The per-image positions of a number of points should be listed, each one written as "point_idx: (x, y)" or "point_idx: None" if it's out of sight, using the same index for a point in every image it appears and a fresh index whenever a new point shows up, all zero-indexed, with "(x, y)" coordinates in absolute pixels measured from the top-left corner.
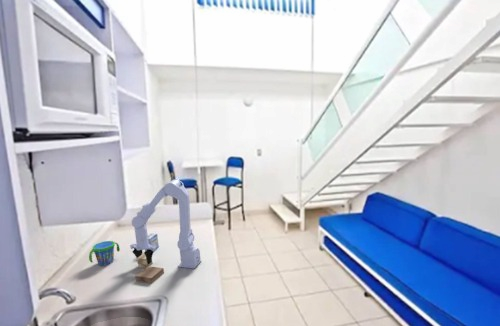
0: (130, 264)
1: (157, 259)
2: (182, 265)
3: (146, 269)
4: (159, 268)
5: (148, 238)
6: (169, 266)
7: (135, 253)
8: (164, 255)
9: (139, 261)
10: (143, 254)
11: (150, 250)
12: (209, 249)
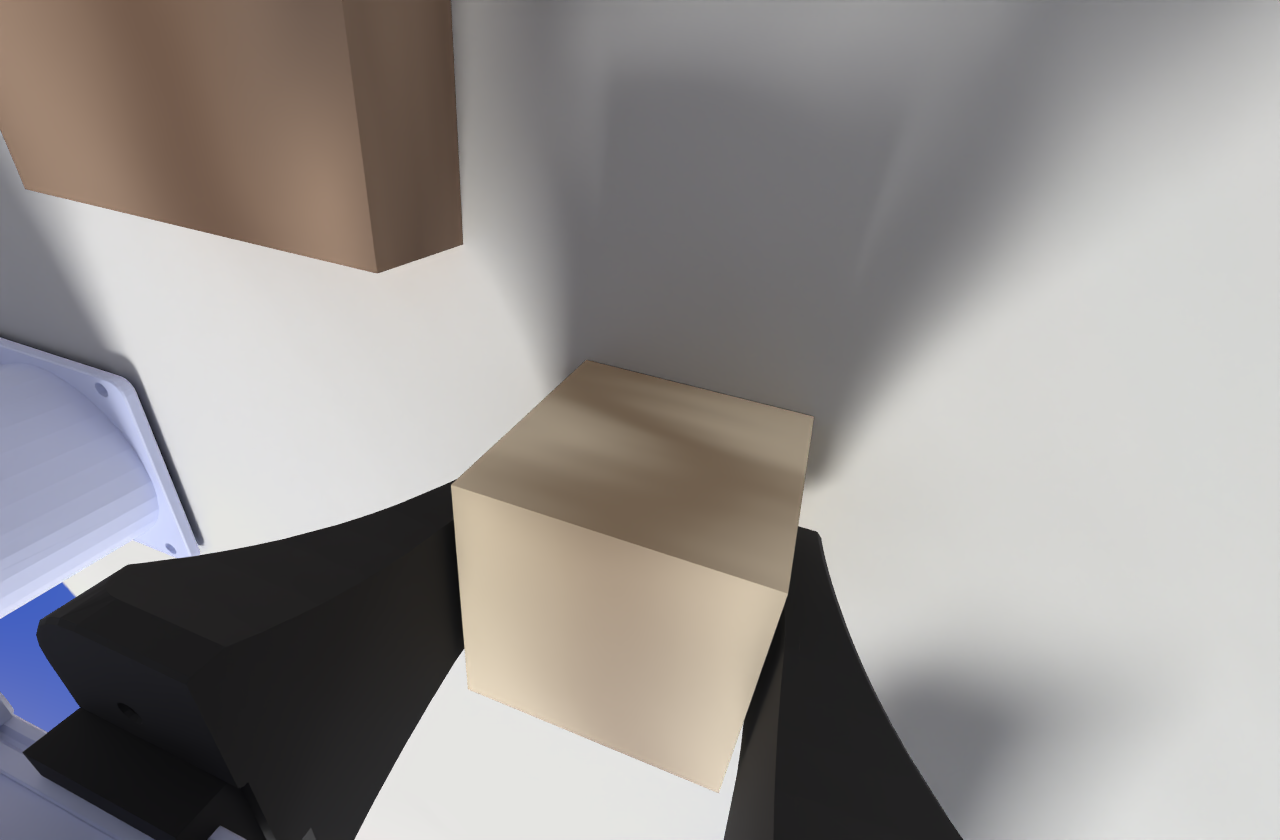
0: (1123, 569)
1: None
2: (65, 386)
3: (275, 66)
4: (69, 165)
5: None
6: (247, 401)
7: (837, 817)
8: None
9: (718, 491)
10: (688, 752)
11: (47, 735)
12: None
